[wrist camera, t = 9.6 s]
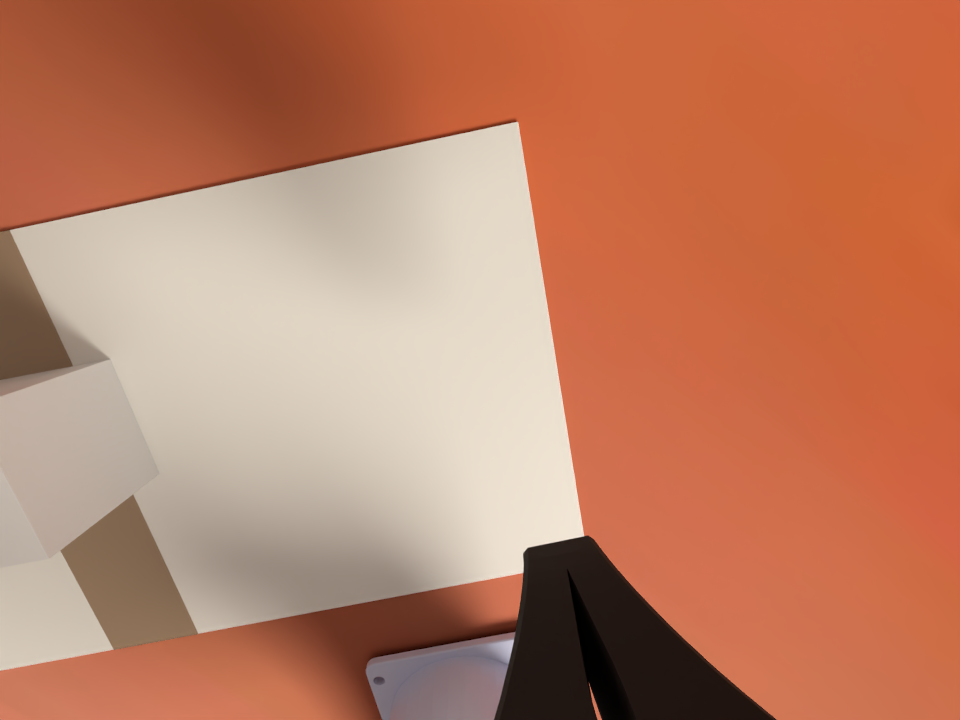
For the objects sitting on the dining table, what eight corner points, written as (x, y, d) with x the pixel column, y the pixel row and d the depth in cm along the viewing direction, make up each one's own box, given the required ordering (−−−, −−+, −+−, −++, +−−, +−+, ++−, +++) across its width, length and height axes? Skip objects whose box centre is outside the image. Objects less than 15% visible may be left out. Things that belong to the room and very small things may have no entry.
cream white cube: (-16, 382, 17) (-208, 439, 12) (110, 358, 17) (-33, 406, 12) (42, 496, 18) (-110, 588, 13) (160, 474, 18) (49, 559, 13)
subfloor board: (584, 551, 20) (587, 561, 20) (2, 660, 21) (-11, 673, 20) (516, 126, 16) (518, 121, 15) (-234, 286, 16) (-261, 287, 16)
